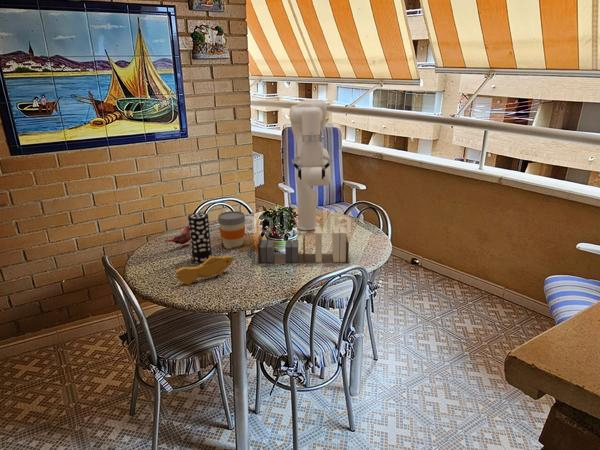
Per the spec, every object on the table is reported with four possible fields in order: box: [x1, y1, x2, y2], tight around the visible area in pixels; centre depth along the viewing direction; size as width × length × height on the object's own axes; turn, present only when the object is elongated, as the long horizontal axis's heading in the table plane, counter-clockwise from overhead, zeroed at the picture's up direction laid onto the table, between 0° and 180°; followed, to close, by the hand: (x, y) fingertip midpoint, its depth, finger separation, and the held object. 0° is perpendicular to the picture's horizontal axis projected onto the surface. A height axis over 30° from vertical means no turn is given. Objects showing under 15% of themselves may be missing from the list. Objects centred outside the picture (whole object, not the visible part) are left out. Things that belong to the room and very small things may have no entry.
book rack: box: [256, 233, 350, 265], centre depth 173 cm, size 10×38×10 cm, turn 88°
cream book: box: [314, 226, 323, 263], centre depth 171 cm, size 8×2×13 cm, turn 178°
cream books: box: [331, 225, 347, 262], centre depth 171 cm, size 8×5×13 cm, turn 178°
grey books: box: [260, 239, 299, 263], centre depth 173 cm, size 8×16×7 cm, turn 88°
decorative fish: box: [175, 254, 233, 285], centre depth 159 cm, size 22×3×10 cm, turn 118°
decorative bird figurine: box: [164, 224, 191, 248], centre depth 190 cm, size 3×18×10 cm, turn 140°
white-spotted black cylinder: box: [187, 212, 213, 264], centre depth 175 cm, size 8×8×20 cm
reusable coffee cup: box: [217, 210, 246, 250], centre depth 190 cm, size 13×13×15 cm
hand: (311, 178), depth 178 cm, fingers open, 9 cm apart
